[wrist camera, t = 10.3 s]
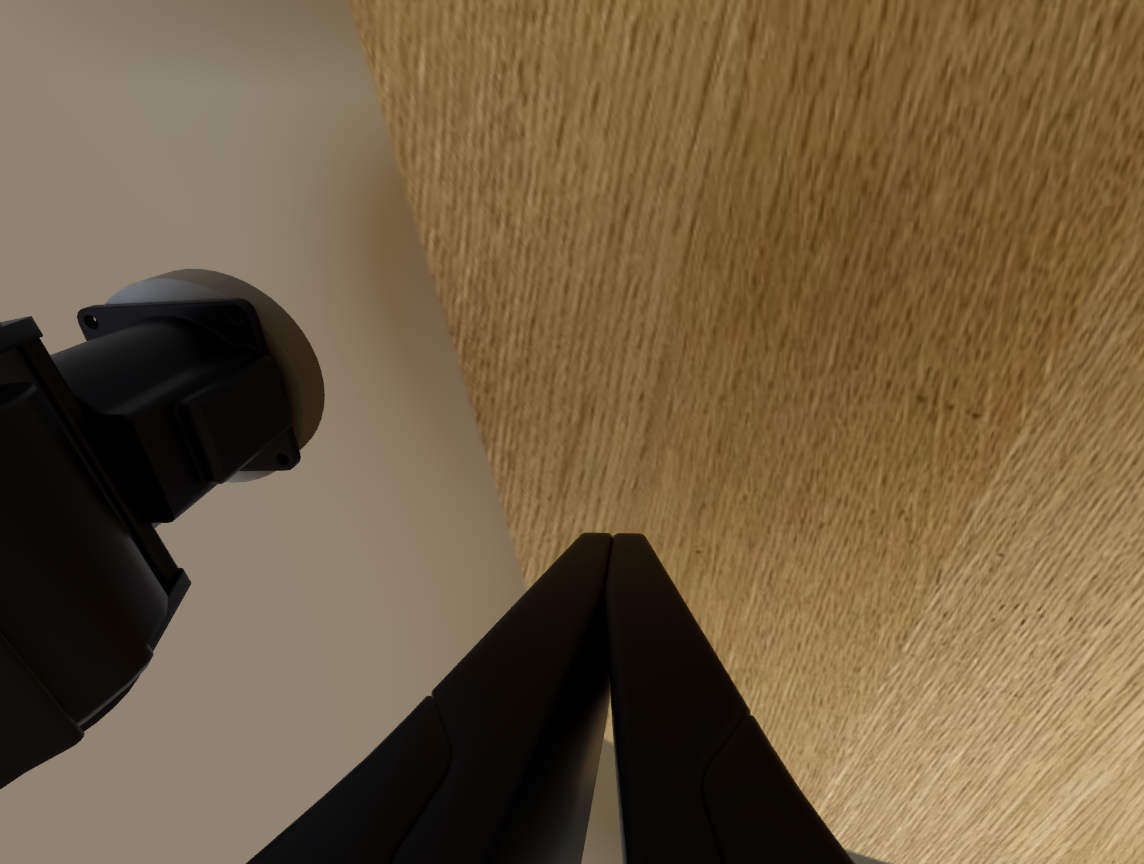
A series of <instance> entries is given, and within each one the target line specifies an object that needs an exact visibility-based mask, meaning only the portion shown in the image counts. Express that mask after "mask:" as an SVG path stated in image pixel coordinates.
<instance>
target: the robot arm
mask: <svg viewBox="0 0 1144 864" xmlns="http://www.w3.org/2000/svg"><path fill="white" fill-rule="evenodd" d="M236 309H238V310H239V311H241V313H242V315H243V319H241V318H239V317H238V315H237V314H236ZM94 318H96V320H97V321H98V324H97V323H96V321H95V320H94ZM77 319H78V323H79V325H80V327H81V329H82V331H83V334H84V336H85V338H86V340H87V342H84V343H82V344H79V345H76V346H74V347H71V348H68V349H66V350H63V351H60V352H58V353H55V354H53V355H49V353H48V351H47V350H46V348H45V346H44V345H43V343H42V342H41V340H40V337H42V336H43V334H42V333H41V331H40V329H39V328H38V326H37V324H36V323H35V321H34V319H33V318H32V316H29V317H25V318H20V319H15V320H10V321H5V322H0V789H1V788H3V787H4V786H6V785H7V784H9V783H10V782H12V781H13V780H15V779H16V778H18V777H19V776H21V775H22V774H23V773H25V772H27V771H29V770H31V769H32V768H34V767H36V766H38V765H40V764H42V763H44V762H45V761H47V760H49V759H51V758H53V757H54V756H56V755H58V754H60V753H62V752H64V751H65V750H67V749H69V748H71V747H73V746H74V745H76V744H77V743H78V742H79V741H81V739H82V738H83V737H84V731H85V730H87V729H88V728H90V727H91V726H93V725H94V724H95V723H97V721H99V720H100V719H101V718H102V717H104V716H105V715H106V714H107V713H108V712H109V711H110V710H111V709H113V708H114V707H115V706H116V705H117V704H118V703H119V702H120V700H121V699H122V698H123V697H124V696H125V695H126V694H127V693H128V692H129V691H130V689H131V688H132V686H133V685H134V683H135V682H136V681H137V679H138V678H139V676H140V674H141V673H142V672H143V671H144V670H145V668H146V667H147V666H148V664H149V662H150V660H151V658H152V656H153V651H154V649H155V647H156V645H157V644H158V642H159V640H160V638H161V636H162V635H163V633H164V631H165V629H166V628H167V626H168V624H169V622H170V620H171V619H172V617H173V615H174V613H175V611H176V610H177V608H178V606H179V604H180V603H181V601H182V599H183V597H184V596H185V594H186V592H187V590H188V588H189V586H190V585H191V581H190V580H189V578H188V576H187V574H186V573H185V571H184V570H183V568H178V567H177V565H176V563H175V562H174V560H173V558H172V557H171V555H170V553H169V552H168V550H167V549H166V547H165V545H164V543H163V542H162V540H161V538H160V537H159V535H158V534H157V532H156V530H155V529H154V528H156V527H157V526H158V525H159V524H160V523H169V522H173V521H174V520H175V519H176V518H177V517H179V516H180V515H181V514H182V513H183V512H185V511H186V510H187V509H188V508H189V507H191V506H192V505H193V504H194V503H195V502H197V501H198V500H199V499H200V498H202V497H203V496H204V495H205V494H206V493H207V492H209V491H210V490H211V489H212V488H214V487H215V486H216V485H217V484H222V483H224V482H226V481H227V480H228V479H229V478H230V477H232V476H233V475H234V474H235V473H236V472H238V471H277V470H278V471H282V470H291V469H292V468H293V467H294V466H296V465H297V464H298V463H299V461H300V459H301V455H300V451H299V448H298V444H297V441H296V438H295V435H294V431H293V428H292V425H291V424H292V421H291V418H290V415H289V411H288V408H287V405H286V402H285V398H284V395H283V392H282V389H281V385H280V382H279V379H278V376H277V372H276V369H275V366H274V363H273V361H272V360H271V357H270V354H269V351H268V347H267V344H266V341H265V338H264V335H263V331H262V328H261V325H260V322H259V318H258V315H257V312H256V310H255V308H254V306H253V305H252V304H251V303H250V302H249V301H247V300H245V299H241V298H229V299H208V300H188V301H167V302H147V303H126V304H106V305H93V306H90V307H87V308H84V309H81V310H80V311H79V312H78V315H77ZM282 453H283V454H285V455H287V456H288V458H289V459H286V458H285V457H284V456H283V455H282ZM610 693H611V710H612V725H613V738H614V752H615V766H616V779H617V792H618V806H619V820H620V833H621V847H622V861H623V864H855V863H854V861H853V860H852V859H851V858H850V856H849V855H848V854H847V852H846V851H845V850H844V848H843V847H842V846H841V845H840V843H839V842H838V841H837V839H836V838H835V837H834V835H833V834H832V832H831V831H830V830H829V828H828V827H827V826H826V824H825V823H824V821H823V820H822V819H821V817H820V816H819V815H818V813H817V812H816V811H815V809H814V808H813V806H812V805H811V804H810V802H809V801H808V800H807V798H806V797H805V796H804V794H803V793H802V791H801V790H800V789H799V787H798V785H797V784H796V782H795V781H794V779H793V778H792V776H791V775H790V773H789V772H788V770H787V769H786V767H785V765H784V764H783V762H782V761H781V759H780V758H779V756H778V755H777V753H776V752H775V750H774V748H773V747H772V745H771V744H770V742H769V740H768V739H767V737H766V735H765V734H764V732H763V730H762V729H761V727H760V725H759V724H758V722H757V720H756V719H755V717H754V716H752V715H750V709H749V708H748V706H747V704H746V703H745V701H744V700H743V698H742V696H741V695H740V693H739V691H738V690H737V688H736V686H735V685H734V683H733V681H732V680H731V678H730V676H729V675H728V673H727V671H726V670H725V668H724V666H723V665H722V663H721V661H720V660H719V658H718V656H717V655H716V653H715V651H714V650H713V648H712V646H711V645H710V643H709V641H708V640H707V638H706V636H705V635H704V633H703V631H702V630H701V628H700V626H699V625H698V623H697V621H696V620H695V618H694V616H693V615H692V613H691V612H690V610H689V608H688V607H687V605H686V603H685V602H684V600H683V598H682V597H681V595H680V593H679V592H678V590H677V588H676V587H675V585H674V583H673V582H672V580H671V578H670V577H669V575H668V573H667V572H666V570H665V568H664V567H663V565H662V563H661V562H660V560H659V558H658V557H657V555H656V553H655V552H654V550H653V548H652V547H651V545H650V543H649V542H648V540H647V538H646V537H645V536H644V535H643V534H637V533H617V534H616V535H614V537H612V535H611V534H610V533H583V534H581V535H580V536H579V537H578V538H577V539H576V540H575V541H574V542H573V544H572V545H571V546H570V547H569V548H568V549H567V550H566V551H565V552H564V553H563V554H562V555H561V556H560V557H559V558H558V559H557V560H556V561H555V562H554V563H553V565H552V566H551V567H550V568H549V569H548V570H547V571H546V572H545V573H544V574H543V575H542V576H541V577H540V578H539V579H538V580H537V581H536V582H535V583H534V584H533V586H532V587H531V588H530V589H529V590H528V591H527V592H526V593H525V594H524V595H523V596H522V597H521V598H520V599H519V600H518V601H517V602H516V603H515V605H514V606H513V607H512V608H511V609H510V610H509V611H508V612H507V613H506V614H505V615H504V616H503V617H502V618H501V619H500V620H499V621H498V622H497V623H496V624H495V625H494V627H493V628H492V629H491V630H490V631H489V632H488V633H487V634H486V635H485V636H484V637H483V638H482V639H481V640H480V641H479V642H478V643H477V644H476V645H475V646H474V648H473V649H472V650H471V651H470V652H469V653H468V654H467V655H466V656H465V657H464V658H463V659H462V660H461V661H460V662H459V663H458V664H457V665H456V666H455V667H454V668H453V670H452V671H451V672H450V673H449V674H448V675H447V676H446V677H445V678H444V679H443V680H442V681H441V682H440V683H439V684H438V685H437V686H436V687H435V688H434V690H433V691H432V696H427V697H426V698H425V699H424V700H423V701H422V702H421V703H420V704H419V705H418V706H417V707H416V708H415V709H414V710H413V711H412V712H411V713H410V714H409V715H408V716H407V717H406V719H405V720H404V721H403V722H402V723H400V724H399V725H398V726H397V728H395V730H394V731H393V732H392V733H390V735H389V736H387V737H386V739H385V740H383V742H382V743H380V744H379V745H378V747H377V748H375V749H374V750H373V751H372V752H371V753H370V754H369V755H368V756H367V757H366V758H365V759H364V760H363V761H362V762H361V763H359V764H358V765H357V766H356V767H355V768H354V769H353V770H352V771H351V772H350V773H349V774H348V775H346V776H345V777H344V778H343V779H342V780H341V781H340V782H339V783H337V784H336V785H335V786H334V787H333V788H332V789H331V790H330V791H329V792H328V793H326V794H325V796H323V797H322V798H321V799H320V800H319V801H317V802H316V803H315V804H314V805H313V806H312V807H311V808H309V809H308V810H307V811H306V812H305V813H304V814H303V815H301V816H300V817H299V818H298V819H297V820H296V821H294V822H293V823H292V824H291V825H290V826H289V827H288V828H286V829H285V830H284V831H283V832H282V833H281V834H279V835H278V836H277V837H276V838H275V839H274V840H273V841H271V843H269V844H268V845H267V846H266V847H265V848H264V849H262V850H261V851H260V852H259V853H258V854H256V855H255V856H254V857H253V858H252V859H251V860H250V861H248V862H247V863H246V864H581V861H582V856H583V850H584V844H585V839H586V833H587V828H588V822H589V816H590V811H591V804H592V799H593V794H594V788H595V782H596V777H597V771H598V765H599V760H600V754H601V749H602V743H603V738H604V732H605V726H606V721H607V714H608V708H609V701H610Z"/></svg>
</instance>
